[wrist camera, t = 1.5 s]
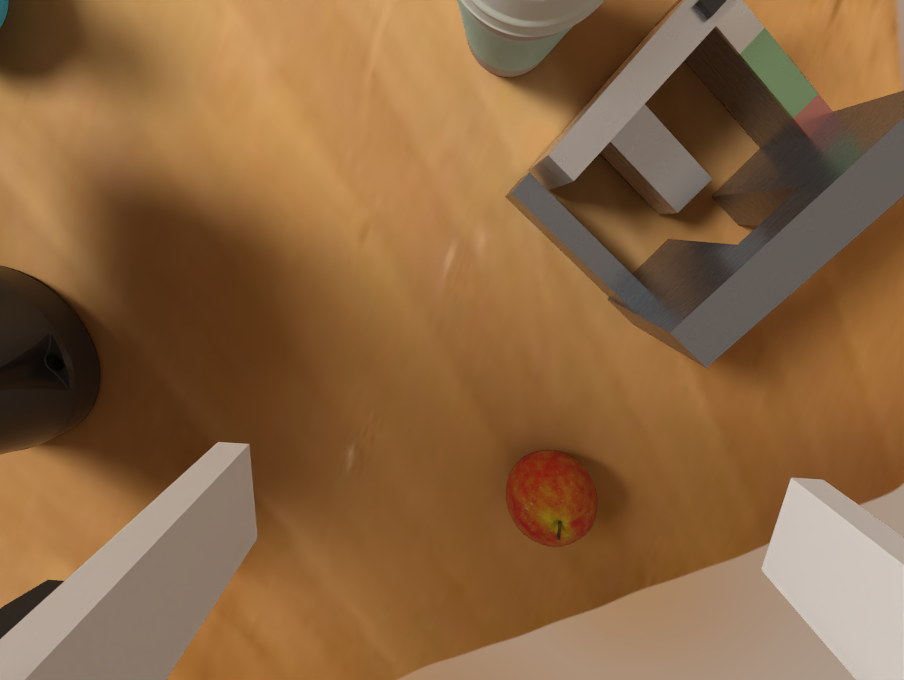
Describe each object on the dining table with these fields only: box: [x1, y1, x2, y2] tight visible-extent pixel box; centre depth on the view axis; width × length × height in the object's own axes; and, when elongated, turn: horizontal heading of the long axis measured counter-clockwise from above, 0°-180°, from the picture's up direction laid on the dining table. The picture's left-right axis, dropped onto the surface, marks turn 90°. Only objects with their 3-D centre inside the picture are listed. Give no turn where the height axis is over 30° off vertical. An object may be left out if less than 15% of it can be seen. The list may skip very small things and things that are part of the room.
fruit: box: [506, 450, 597, 547], centre depth 32 cm, size 7×7×8 cm
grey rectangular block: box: [528, 0, 737, 214], centre depth 25 cm, size 9×14×7 cm, turn 138°
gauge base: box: [505, 0, 904, 368], centre depth 25 cm, size 14×16×10 cm
